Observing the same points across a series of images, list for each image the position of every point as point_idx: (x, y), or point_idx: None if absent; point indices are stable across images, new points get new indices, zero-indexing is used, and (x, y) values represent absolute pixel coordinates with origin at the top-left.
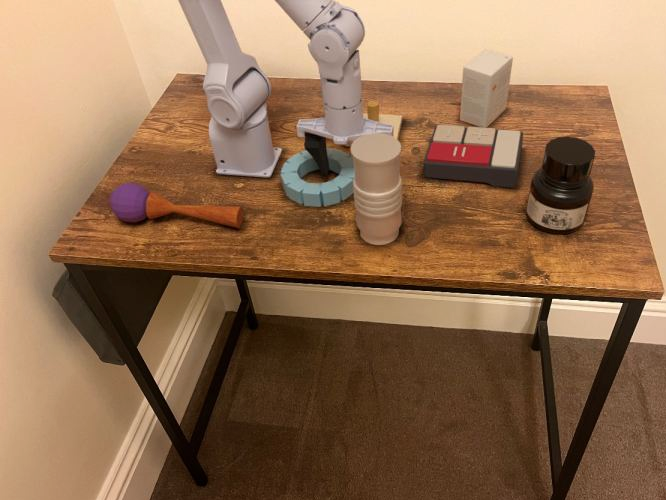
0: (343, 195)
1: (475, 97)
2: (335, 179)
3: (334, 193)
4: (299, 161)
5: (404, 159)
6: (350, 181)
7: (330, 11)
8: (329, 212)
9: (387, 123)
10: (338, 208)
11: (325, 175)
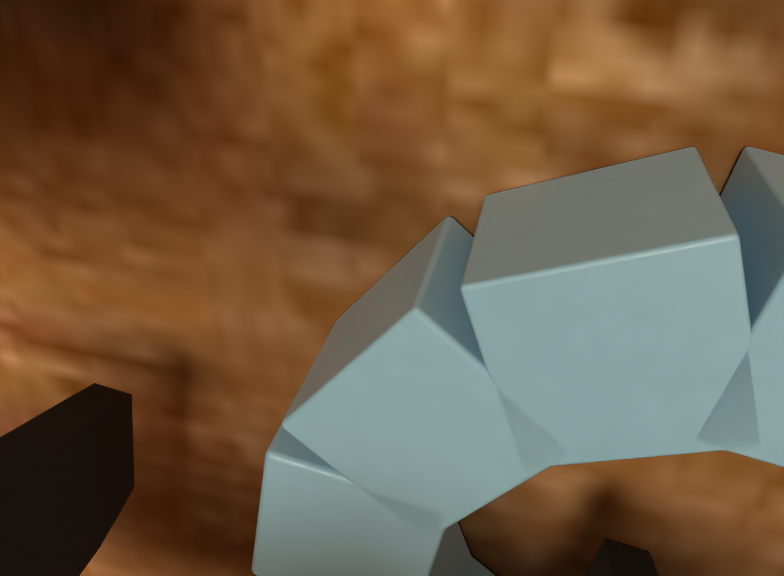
0: (431, 252)
1: None
2: (498, 474)
3: (538, 247)
4: None
5: None
6: (311, 404)
7: None
8: (645, 24)
9: None
10: (517, 92)
11: (617, 562)
